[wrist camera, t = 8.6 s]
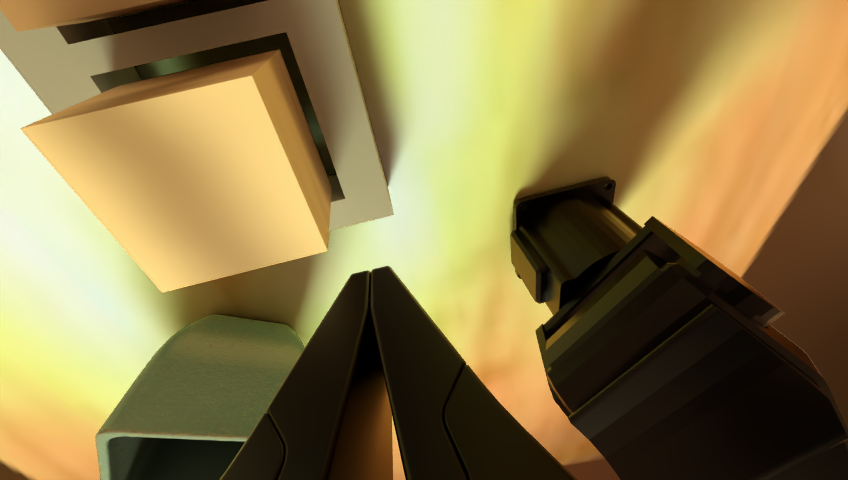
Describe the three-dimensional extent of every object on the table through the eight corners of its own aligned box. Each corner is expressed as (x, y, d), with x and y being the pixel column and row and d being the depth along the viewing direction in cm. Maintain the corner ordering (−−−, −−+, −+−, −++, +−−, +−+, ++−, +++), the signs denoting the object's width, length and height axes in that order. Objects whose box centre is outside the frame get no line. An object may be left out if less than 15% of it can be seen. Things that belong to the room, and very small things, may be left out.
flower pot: (169, 374, 26) (100, 525, 19) (176, 284, 22) (91, 433, 14) (295, 384, 29) (279, 516, 22) (323, 307, 25) (314, 439, 18)
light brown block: (279, 49, 13) (251, 75, 9) (331, 188, 17) (327, 251, 13) (118, 85, 13) (20, 128, 9) (205, 219, 17) (162, 292, 13)
